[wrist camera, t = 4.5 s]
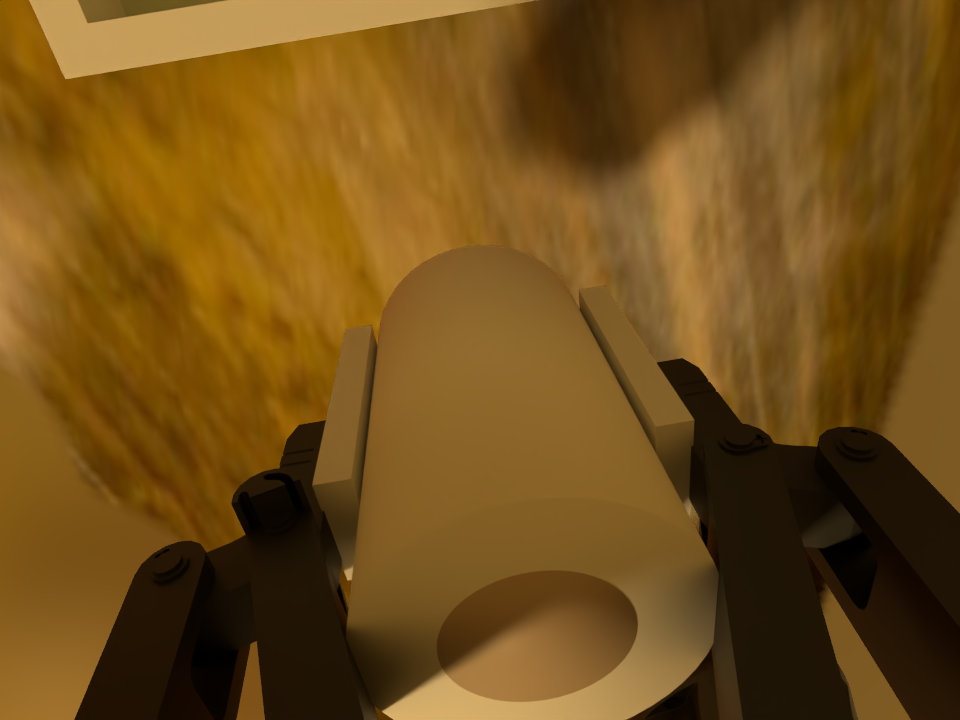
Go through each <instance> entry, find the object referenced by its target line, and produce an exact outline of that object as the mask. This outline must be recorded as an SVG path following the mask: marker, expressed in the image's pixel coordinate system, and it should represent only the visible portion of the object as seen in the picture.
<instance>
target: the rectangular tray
mask: <svg viewBox="0 0 960 720" xmlns="http://www.w3.org/2000/svg"><path fill="white" fill-rule="evenodd" d="M29 1H30V3H31V5H32V7H33V9H34V12H35V14H36V16H37V18H38V20H39V23H40V25H41V27H42V29H43V31H44V33H45V36H46V38H47V40H48V42H49V44H50V47H51V49H52V51H53V53H54V55H55V57H56V60H57V62H58V64H59V66H60V68H61V71H62V73H63V75H64V77H65V79H69V78H75V77H81V76H87V75H93V74H99V73H105V72H111V71H117V70H123V69H129V68H135V67H141V66H147V65H153V64H159V63H165V62H171V61H177V60H183V59H189V58H195V57H201V56H207V55H213V54H219V53H225V52H231V51H237V50H243V49H249V48H255V47H261V46H267V45H273V44H279V43H285V42H291V41H297V40H303V39H309V38H315V37H321V36H326V35H332V34H338V33H344V32H350V31H356V30H362V29H368V28H374V27H380V26H386V25H392V24H398V23H404V22H410V21H416V20H422V19H428V18H434V17H440V16H446V15H452V14H458V13H464V12H470V11H476V10H482V9H488V8H494V7H500V6H506V5H512V4H518V3H524V2H530V1H536V0H29Z"/></svg>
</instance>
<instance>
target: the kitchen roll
mask: <svg viewBox="0 0 960 720" xmlns="http://www.w3.org/2000/svg"><path fill="white" fill-rule="evenodd" d="M718 579H719V572H718V570H717V568H716V566H715V563H714V561H713V559H712V558H711V556H710V554H709V552H708V550H707V548H706V546H705V544H704V542H703V541H702V539H701V537H700V535H699V533H698V531H697V529H696V527H695V526H694V524H693V522H692V520H691V518H690V516H689V514H688V512H687V511H686V509H685V507H684V505H683V503H682V501H681V499H680V497H679V495H678V494H677V492H676V490H675V488H674V486H673V484H672V482H671V480H670V479H669V477H668V475H667V473H666V471H665V469H664V467H663V465H662V463H661V462H660V460H659V458H658V456H657V454H656V452H655V450H654V448H653V447H652V445H651V443H650V441H649V439H648V437H647V435H646V433H645V432H644V430H643V428H642V426H641V424H640V422H639V420H638V418H637V416H636V415H635V413H634V411H633V409H632V407H631V405H630V403H629V401H628V400H627V398H626V396H625V394H624V392H623V390H622V388H621V386H620V385H619V383H618V381H617V379H616V377H615V375H614V373H613V371H612V369H611V368H610V366H609V364H608V362H607V360H606V358H605V356H604V354H603V353H602V351H601V349H600V347H599V345H598V343H597V341H596V339H595V337H594V336H593V334H592V332H591V330H590V328H589V326H588V324H587V322H586V321H585V319H584V317H583V315H582V313H581V311H580V309H579V307H578V306H577V304H576V302H575V300H574V298H573V296H572V294H571V292H570V291H569V289H568V288H567V286H566V285H565V283H564V282H563V280H562V279H561V278H560V277H559V276H558V275H557V274H556V273H555V272H554V271H553V270H552V269H551V268H550V267H548V266H547V265H546V264H545V263H543V262H541V261H540V260H538V259H536V258H535V257H533V256H531V255H529V254H526V253H524V252H522V251H519V250H515V249H512V248H508V247H502V246H495V245H475V246H465V247H461V248H457V249H452V250H449V251H447V252H444V253H441V254H438V255H436V256H434V257H433V258H431V259H429V260H427V261H425V262H424V263H422V264H421V265H419V266H418V267H416V268H415V269H414V270H413V271H411V272H410V273H409V274H408V275H407V276H406V277H405V278H404V279H403V280H402V281H401V282H400V284H399V285H398V286H397V287H396V288H395V290H394V292H393V293H392V295H391V296H390V298H389V300H388V302H387V304H386V307H385V309H384V311H383V315H382V318H381V322H380V329H379V338H378V347H377V356H376V365H375V374H374V383H373V392H372V401H371V410H370V419H369V428H368V437H367V446H366V455H365V464H364V473H363V482H362V491H361V500H360V509H359V518H358V528H357V537H356V546H355V555H354V564H353V573H352V582H351V591H350V600H349V609H348V618H347V627H346V636H345V637H346V640H347V642H348V645H349V647H350V650H351V652H352V654H353V657H354V659H355V662H356V664H357V667H358V669H359V672H360V674H361V677H362V679H363V682H364V684H365V687H366V689H367V691H368V694H369V696H370V699H371V701H372V703H373V704H374V705H375V706H376V707H377V708H378V709H379V710H380V711H382V712H383V713H385V714H386V715H388V716H389V717H390V718H392V719H393V720H626V719H628V718H631V717H633V716H635V715H637V714H638V713H640V712H642V711H644V710H645V709H647V708H649V707H651V706H652V705H654V704H655V703H657V702H658V701H660V700H661V699H663V698H664V697H666V696H667V695H669V694H670V693H671V692H672V691H673V690H675V689H676V688H677V687H678V686H679V685H681V684H682V683H683V682H684V681H685V680H686V679H687V678H688V677H689V676H690V675H691V674H692V673H693V672H694V671H695V670H696V669H697V667H698V666H699V665H700V663H701V662H702V661H703V659H704V658H705V657H706V655H707V654H708V652H709V650H710V649H711V647H712V645H713V641H714V629H715V616H716V604H717V591H718Z"/></svg>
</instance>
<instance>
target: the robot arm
mask: <svg viewBox="0 0 960 720" xmlns="http://www.w3.org/2000/svg"><path fill="white" fill-rule="evenodd" d="M579 304H580V311H581V313H582V315H583V317H584V319H585V321H586V322H587V324H588V326H589V328H590V330H591V332H592V334H593V336H594V337H595V339H596V341H597V343H598V345H599V347H600V349H601V351H602V353H603V354H604V356H605V358H606V360H607V362H608V364H609V366H610V368H611V369H612V371H613V373H614V375H615V377H616V379H617V381H618V383H619V385H620V386H621V388H622V390H623V392H624V394H625V396H626V398H627V400H628V401H629V403H630V405H631V407H632V409H633V411H634V413H635V415H636V416H637V418H638V420H639V422H640V424H641V426H642V428H643V430H644V432H645V433H646V435H647V437H648V439H649V441H650V443H651V445H652V447H653V448H654V450H655V452H656V454H657V456H658V458H659V460H660V462H661V463H662V465H663V467H664V469H665V471H666V473H667V475H668V477H669V479H670V480H671V482H672V484H673V486H674V488H675V490H676V492H677V494H678V495H679V497H680V499H681V501H682V503H683V505H684V507H685V509H686V511H687V512H688V514H689V516H690V513H691V503H692V505H693V507H694V509H695V510H696V512H697V514H698V516H699V518H700V522H699V535H700V537H701V539H702V541H703V542H704V544H705V546H706V548H707V550H708V552H709V554H710V556H711V558H712V559H713V561H714V563H715V566H716V568H717V570H718V572H719V579H718V591H717V604H716V616H715V629H714V641H713V645H712V647H711V649H710V650H709V652H708V654H707V655H706V657H705V658H704V659H703V661H702V662H701V663H700V665H699V666H698V667H697V669H696V670H695V671H694V672H693V673H692V674H691V675H690V676H689V677H688V678H687V679H686V680H685V681H684V682H683V683H682V684H681V685H679V686H678V687H677V688H676V689H675V690H673V691H672V692H671V693H670V694H669V695H667V696H666V697H664V698H663V699H661V700H660V701H658V702H657V703H655V704H654V705H652V706H651V707H649V708H647V709H645V710H644V711H642V712H640V713H638V714H637V715H635V716H633V717H631V718H628V719H626V720H858V717H857V713H856V710H855V706H854V702H853V698H852V694H851V691H850V687H849V684H848V682H847V680H846V677H845V675H844V674H843V672H842V671H841V669H840V667H839V665H838V664H837V661H836V657H835V654H834V650H833V646H832V643H831V639H830V636H829V632H828V629H827V625H826V622H825V618H824V615H823V611H822V608H821V605H820V601H819V598H818V594H817V591H816V587H815V584H814V580H813V577H812V573H811V570H810V566H809V563H808V559H807V556H806V552H805V550H806V551H807V553H808V554H809V556H810V558H811V559H812V561H813V563H814V564H815V566H816V567H817V569H818V571H819V572H820V574H821V575H822V577H823V579H824V580H825V582H826V583H827V585H828V587H829V588H830V590H831V592H832V593H833V595H834V596H835V598H836V600H837V601H838V603H839V604H840V606H841V608H842V609H843V611H844V612H845V614H846V616H847V617H848V619H849V620H850V622H851V623H852V625H853V627H854V629H855V630H856V632H857V633H858V635H859V636H860V638H861V640H862V641H863V643H864V645H865V646H866V648H867V649H868V651H869V653H870V654H871V656H872V657H873V659H874V661H875V662H876V664H877V666H878V667H879V669H880V670H881V672H882V673H883V675H884V677H885V678H886V680H887V682H888V683H889V685H890V687H891V688H892V689H893V691H894V693H895V695H896V696H897V698H898V699H899V701H900V703H901V704H902V706H903V707H904V709H905V711H906V712H907V714H908V715H909V717H910V719H911V720H960V513H959V512H957V510H956V509H955V508H954V507H953V506H952V505H951V504H950V503H949V502H948V501H947V500H946V499H945V498H944V497H943V496H942V495H941V494H940V493H939V492H938V491H937V490H936V489H935V487H934V486H933V485H931V483H930V482H929V481H928V480H927V479H926V478H925V477H924V476H923V475H922V474H921V473H920V472H919V471H918V470H917V469H916V468H915V467H914V466H913V465H912V464H911V463H910V461H908V459H907V458H906V457H904V455H903V454H902V453H901V452H900V451H899V450H898V449H897V448H896V447H895V446H894V445H893V444H892V443H891V442H890V441H888V440H887V439H886V438H884V437H883V436H881V435H879V434H877V433H874V432H872V431H869V430H866V429H861V428H856V427H837V428H833V429H830V430H827V431H826V432H824V433H823V434H822V435H821V436H820V437H819V441H818V446H817V447H812V446H791V445H782V444H776V443H774V442H773V441H772V439H771V438H770V436H769V435H768V434H766V433H765V432H764V431H762V430H761V429H759V428H756V427H753V426H751V425H748V424H742V423H741V422H740V420H739V419H738V418H737V417H736V415H735V414H734V413H733V411H732V410H731V409H730V407H729V406H728V405H727V404H726V402H725V401H724V400H723V398H722V397H721V396H720V394H719V393H718V392H716V389H715V388H714V387H713V385H712V384H711V383H710V382H708V379H707V378H706V376H705V375H704V374H703V372H702V371H701V370H700V369H699V367H697V366H695V365H693V364H692V363H690V362H688V361H686V360H684V359H683V358H681V359H675V360H669V361H663V362H658V363H656V361H655V360H654V358H653V357H652V355H651V354H650V352H649V351H648V349H647V348H646V346H645V345H644V343H643V342H642V340H641V339H640V337H639V336H638V334H637V333H636V331H635V330H634V328H633V327H632V325H631V324H630V322H629V321H628V319H627V318H626V316H625V315H624V313H623V312H622V310H621V309H620V307H619V306H618V304H617V303H616V301H615V300H614V298H613V297H612V295H611V294H610V292H609V291H608V289H607V288H606V286H605V285H603V286H598V287H592V288H586V289H580V290H579ZM376 356H377V343H376V339H375V335H374V331H373V328H372V325H368V326H362V327H356V328H350V329H345V333H344V338H343V343H342V348H341V352H340V357H339V362H338V366H337V371H336V376H335V380H334V385H333V390H332V394H331V399H330V404H329V409H328V413H327V418H326V420H325V421H320V422H314V423H308V424H302V425H299V426H298V427H297V428H296V429H295V431H294V432H293V433H292V434H291V435H290V436H289V438H288V439H287V442H286V445H285V448H284V452H283V456H282V459H281V462H280V468H279V469H272V470H268V471H264V472H261V473H259V474H257V475H255V476H253V477H251V478H249V479H248V480H247V481H246V482H244V483H243V484H242V485H240V487H239V488H238V489H237V491H236V492H235V493H234V495H233V499H232V503H231V504H232V506H233V508H234V511H235V513H236V515H237V517H238V519H239V521H240V523H241V525H242V528H243V530H244V532H245V534H246V535H244V536H243V537H241V538H239V539H237V540H235V541H233V542H231V543H229V544H227V545H224V546H222V547H219V548H217V549H214V550H212V551H210V552H207V553H206V551H205V550H204V548H203V547H202V546H201V544H199V543H196V542H193V541H182V542H177V543H174V544H171V545H168V546H165V547H164V548H162V549H161V550H159V551H157V552H155V553H154V554H152V555H151V556H150V557H149V558H148V559H147V560H146V561H145V562H144V563H142V564H141V566H140V568H139V569H138V571H137V573H136V574H135V576H134V578H133V580H132V583H131V585H130V588H129V590H128V592H127V595H126V597H125V600H124V602H123V604H122V607H121V609H120V612H119V614H118V616H117V619H116V621H115V624H114V626H113V628H112V631H111V633H110V636H109V638H108V640H107V643H106V645H105V648H104V650H103V652H102V655H101V657H100V660H99V662H98V665H97V667H96V669H95V672H94V674H93V676H92V679H91V681H90V684H89V686H88V689H87V691H86V693H85V696H84V698H83V701H82V703H81V705H80V708H79V710H78V712H77V715H76V717H75V720H236V718H237V713H238V708H239V702H240V697H241V692H242V687H243V681H244V676H245V670H246V665H247V660H248V655H249V650H250V644H251V643H253V642H255V641H257V646H258V656H259V666H260V676H261V685H262V695H263V705H264V714H265V720H378V717H377V713H376V709H375V706H374V704H373V703H372V701H371V699H370V696H369V694H368V691H367V689H366V687H365V684H364V682H363V679H362V677H361V674H360V672H359V669H358V667H357V664H356V662H355V659H354V657H353V654H352V652H351V650H350V647H349V645H348V642H347V640H346V637H345V636H346V627H347V618H348V606H347V602H346V598H345V595H344V592H343V590H342V587H341V584H340V582H339V579H340V572H341V564H342V567H343V569H344V572H345V575H346V577H347V580H352V573H353V564H354V555H355V546H356V537H357V528H358V518H359V509H360V500H361V491H362V482H363V473H364V464H365V455H366V446H367V437H368V428H369V419H370V410H371V401H372V392H373V383H374V374H375V365H376ZM804 548H805V549H804Z"/></svg>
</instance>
